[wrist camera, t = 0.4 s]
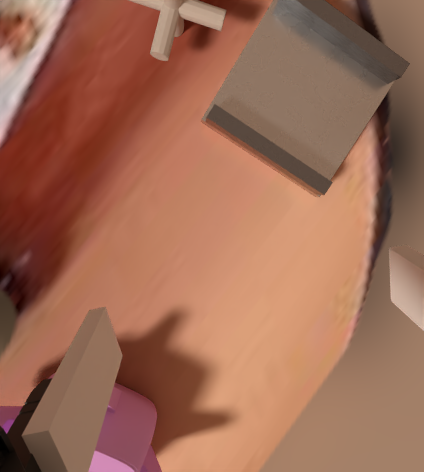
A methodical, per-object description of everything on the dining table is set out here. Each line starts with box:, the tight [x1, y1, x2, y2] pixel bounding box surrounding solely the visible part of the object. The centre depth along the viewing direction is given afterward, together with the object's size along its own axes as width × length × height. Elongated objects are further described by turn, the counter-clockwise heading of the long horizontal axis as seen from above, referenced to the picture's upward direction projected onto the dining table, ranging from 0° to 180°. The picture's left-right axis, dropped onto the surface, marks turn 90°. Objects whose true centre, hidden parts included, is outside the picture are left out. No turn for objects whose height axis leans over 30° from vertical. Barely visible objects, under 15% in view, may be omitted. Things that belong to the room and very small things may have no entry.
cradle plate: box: [201, 0, 410, 197], centre depth 38 cm, size 16×16×4 cm
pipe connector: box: [129, 0, 226, 61], centre depth 33 cm, size 10×10×10 cm
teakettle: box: [0, 373, 162, 472], centre depth 38 cm, size 17×17×12 cm
